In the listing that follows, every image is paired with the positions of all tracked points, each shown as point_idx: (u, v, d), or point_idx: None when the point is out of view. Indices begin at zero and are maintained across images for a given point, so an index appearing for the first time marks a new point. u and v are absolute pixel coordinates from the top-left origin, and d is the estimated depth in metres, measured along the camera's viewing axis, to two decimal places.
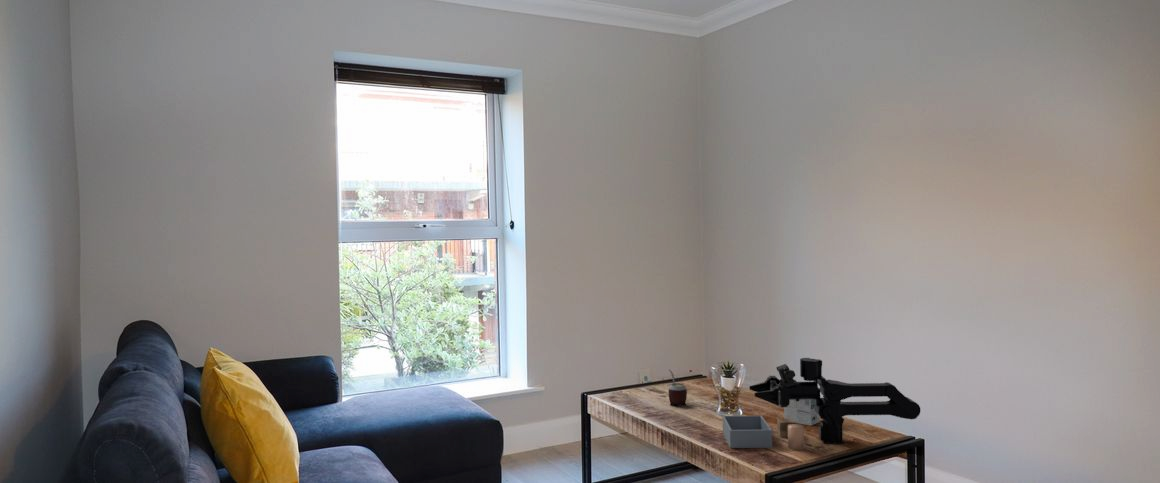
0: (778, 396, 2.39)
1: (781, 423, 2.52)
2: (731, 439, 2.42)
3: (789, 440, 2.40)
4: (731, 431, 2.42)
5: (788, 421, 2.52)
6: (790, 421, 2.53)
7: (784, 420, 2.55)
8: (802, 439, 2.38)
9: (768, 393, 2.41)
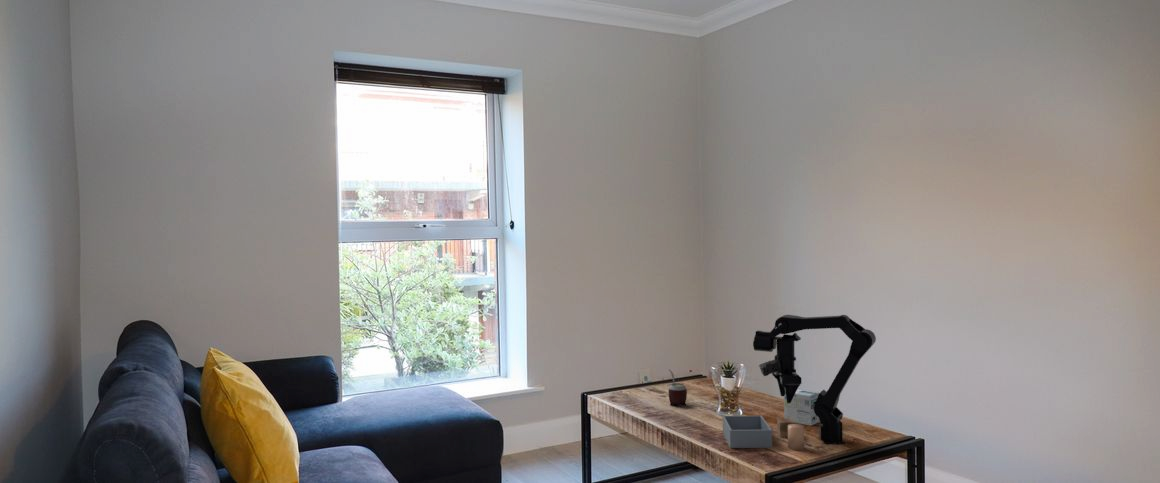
0: (790, 384, 2.46)
1: (781, 423, 2.52)
2: (731, 439, 2.42)
3: (789, 440, 2.40)
4: (731, 431, 2.42)
5: (788, 422, 2.52)
6: (790, 421, 2.53)
7: (784, 420, 2.55)
8: (802, 439, 2.38)
9: (787, 391, 2.48)
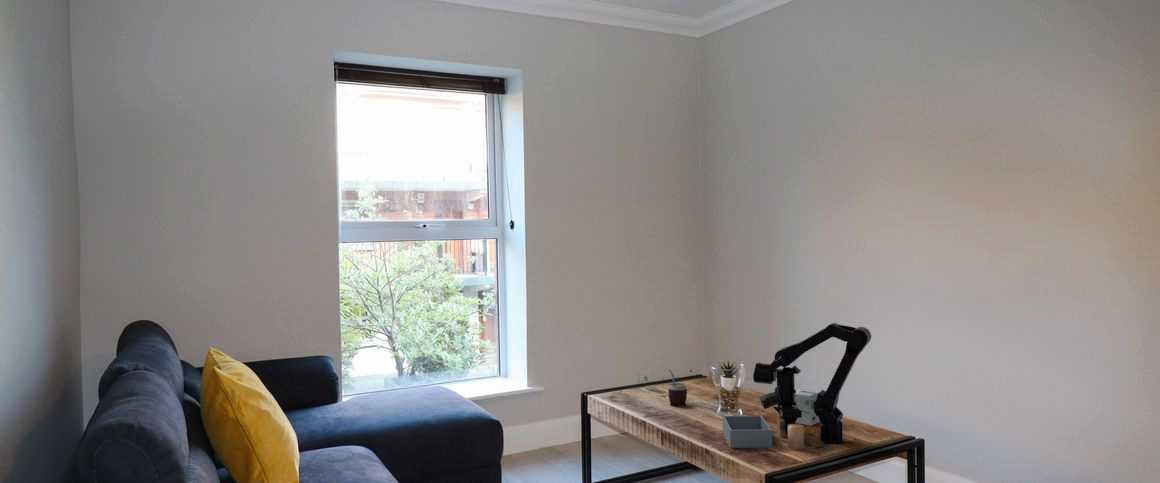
0: None
1: (781, 423, 2.52)
2: (731, 439, 2.42)
3: (789, 440, 2.40)
4: (731, 431, 2.42)
5: None
6: None
7: None
8: (802, 439, 2.38)
9: (786, 422, 2.50)
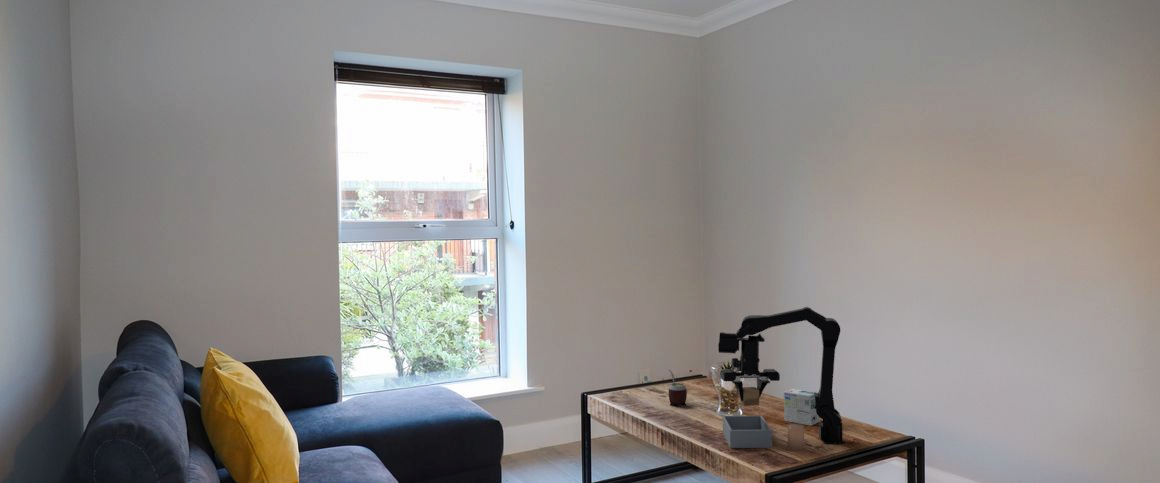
0: (731, 380, 2.52)
1: None
2: (731, 439, 2.42)
3: (789, 440, 2.40)
4: (731, 431, 2.42)
5: (744, 389, 2.52)
6: (746, 389, 2.51)
7: (750, 388, 2.53)
8: (802, 439, 2.38)
9: (737, 388, 2.53)
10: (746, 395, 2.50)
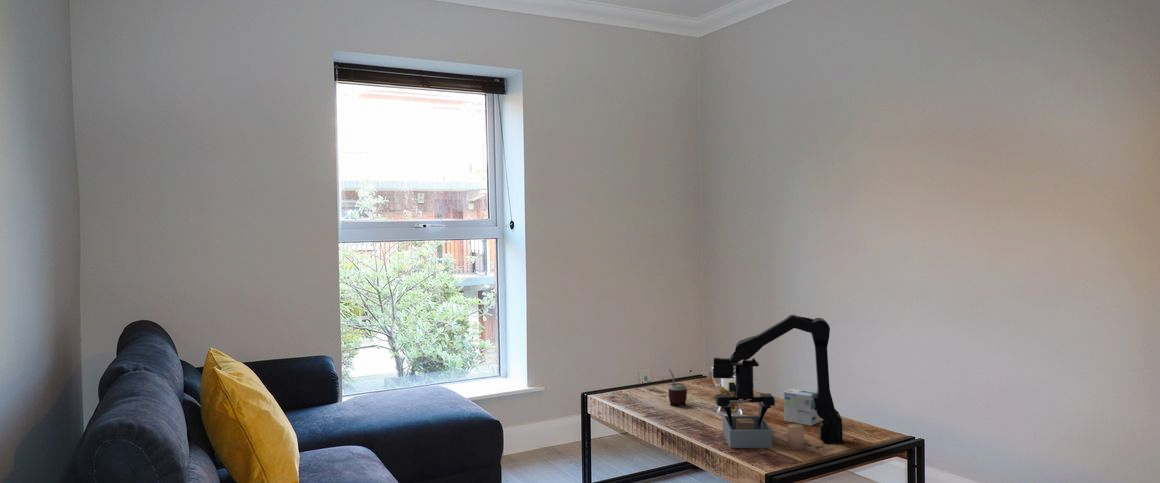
0: None
1: (736, 419, 2.55)
2: (731, 439, 2.42)
3: (789, 440, 2.40)
4: (731, 431, 2.42)
5: (739, 421, 2.52)
6: (741, 421, 2.51)
7: (745, 420, 2.53)
8: (802, 439, 2.38)
9: None
10: (740, 427, 2.50)
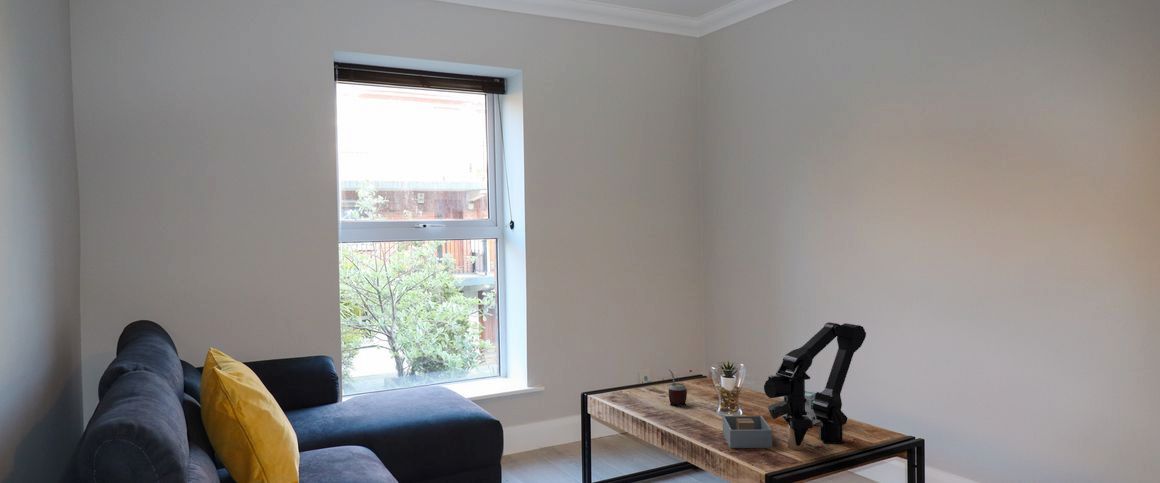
0: None
1: (736, 419, 2.55)
2: (731, 439, 2.42)
3: (789, 440, 2.40)
4: (731, 431, 2.42)
5: (739, 421, 2.52)
6: (741, 421, 2.51)
7: (745, 420, 2.53)
8: None
9: (796, 433, 2.36)
10: (740, 427, 2.50)
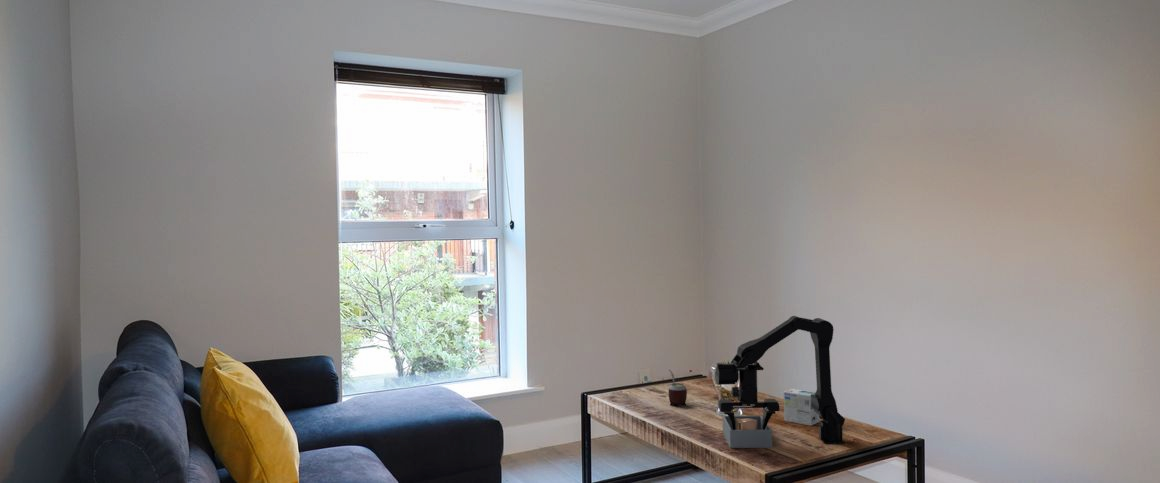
0: None
1: (736, 419, 2.55)
2: (731, 439, 2.42)
3: None
4: (731, 431, 2.42)
5: (739, 421, 2.52)
6: None
7: None
8: None
9: (730, 418, 2.46)
10: (740, 427, 2.50)
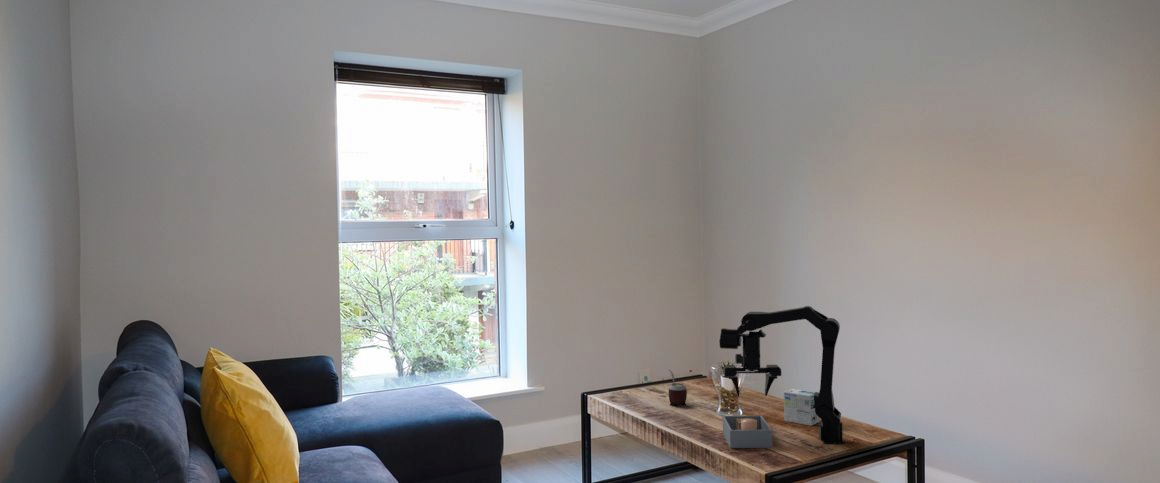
0: None
1: (736, 419, 2.55)
2: (731, 439, 2.42)
3: None
4: (731, 431, 2.42)
5: (739, 421, 2.52)
6: None
7: None
8: None
9: (733, 383, 2.56)
10: (740, 427, 2.50)
